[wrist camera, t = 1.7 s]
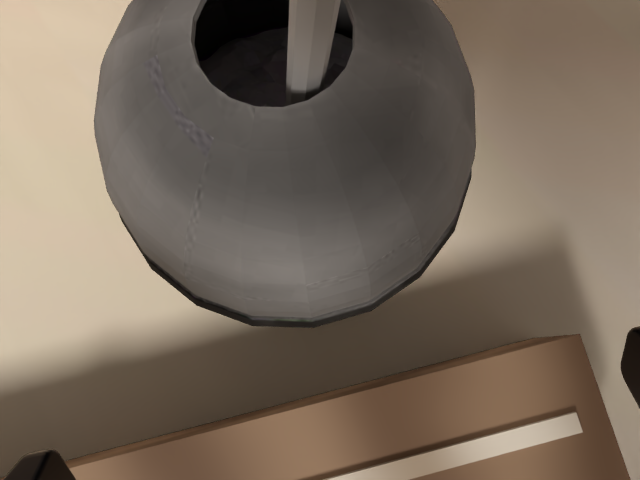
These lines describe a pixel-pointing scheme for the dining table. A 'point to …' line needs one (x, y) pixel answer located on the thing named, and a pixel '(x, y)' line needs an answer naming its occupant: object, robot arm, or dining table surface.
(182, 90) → the beverage cup
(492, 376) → the slotted wooden bar
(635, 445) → the dining table surface
